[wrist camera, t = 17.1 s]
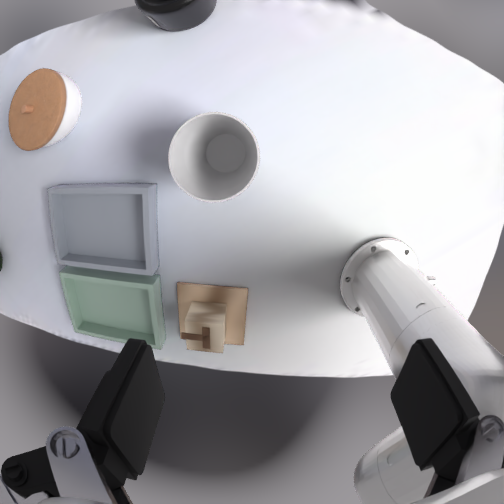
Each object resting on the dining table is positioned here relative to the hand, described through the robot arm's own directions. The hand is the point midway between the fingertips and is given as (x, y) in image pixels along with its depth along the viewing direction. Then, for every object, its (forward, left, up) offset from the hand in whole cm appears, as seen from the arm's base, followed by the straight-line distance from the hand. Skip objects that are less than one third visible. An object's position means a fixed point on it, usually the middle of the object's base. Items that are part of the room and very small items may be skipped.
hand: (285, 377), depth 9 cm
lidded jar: (+29, -13, -28) cm, 43 cm away
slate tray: (+22, +4, -28) cm, 36 cm away
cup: (+5, -6, -28) cm, 29 cm away
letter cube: (+7, +17, -27) cm, 33 cm away
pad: (+6, +17, -28) cm, 33 cm away
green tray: (+22, +17, -28) cm, 40 cm away
